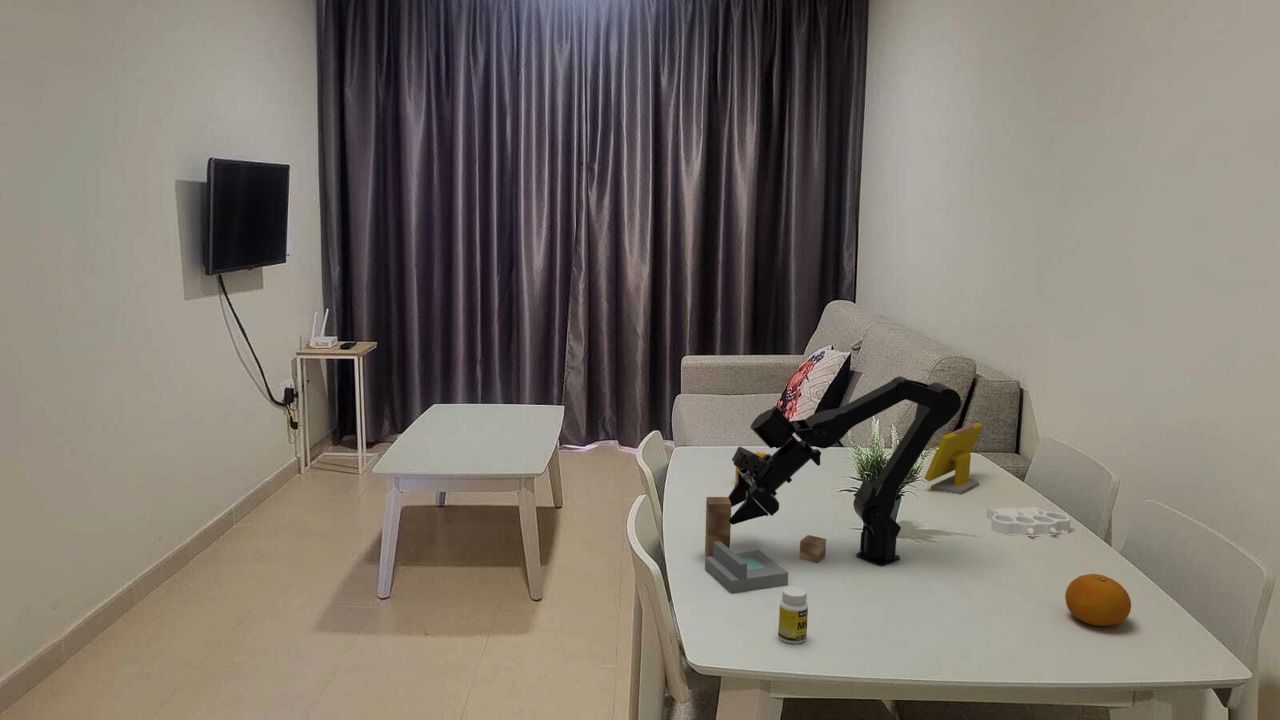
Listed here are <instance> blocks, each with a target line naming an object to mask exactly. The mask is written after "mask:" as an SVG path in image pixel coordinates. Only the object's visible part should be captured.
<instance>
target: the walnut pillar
mask: <svg viewBox="0 0 1280 720" xmlns="http://www.w3.org/2000/svg"><path fill="white" fill-rule="evenodd" d="M705 506H706V508H705V537H704V538H705V539H704V541H705V542H704V543H705V544H704V545H705V546H704V556H706V557H710V556H713V542H716V541H721V542H722V543H723V544H724V545H725V546H727V547H728V548H729V549H730V550H731V528H732V524H731V523H730V522H729V520H730V518H731V517H732V507H731V502H730V500H729V496H706V505H705Z"/></svg>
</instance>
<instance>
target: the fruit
mask: <svg viewBox="0 0 1280 720" xmlns="http://www.w3.org/2000/svg"><path fill="white" fill-rule="evenodd" d="M1064 594H1065V597H1064V598H1065V603H1066V607H1067V609H1068V610H1069V612H1071V614H1072V615H1073V616H1074V617H1076V618H1077V619H1078V620H1080V621H1081V622H1083V623H1086V624H1088V625H1093V626H1097V627H1109V626H1114V625H1117V624H1121V623H1122V622H1124V621H1125V620H1126V619H1127V618H1128V617H1129V615H1130V613H1131V609H1132V600H1131V598H1130V595H1129V594H1128V592H1127V590H1126V589H1125V588H1124V587H1123V585H1122V584H1120V583H1119V582H1118V581H1116V580H1115V579H1113V578H1111V577H1108V576H1107V575H1103V574H1100V573H1099V574H1097V573H1089V574H1088V573H1087V574H1083V575H1080V576H1078V577H1076V578H1075V579H1073V580H1072V581H1071V582H1070V583H1069V584H1068V586H1067V587H1066V590H1065V593H1064Z"/></svg>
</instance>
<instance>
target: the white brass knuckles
mask: <svg viewBox="0 0 1280 720" xmlns="http://www.w3.org/2000/svg"><path fill="white" fill-rule="evenodd" d="M986 517H987V519H988V518H990V519H991V520H992V521H991V520H990V521H991V524H990V525H991V526H990V530H991V529H992V530H993V531H995V532H997V533H1001V534H1006V535H1009V534H1022V535H1038V534H1056V533H1057V531H1062V530H1064V531H1067V530H1069V531H1070V528H1071V517H1070V516H1068V515H1067V514H1064V513H1061V512H1057V511H1056V512H1055V511H1048V510H1043V509H1042V508H1040V507H1037V506H1030V507H1007V508H1005V507H1004V508H993V507H990V508H989V509H987V510H986ZM992 530H991V531H992ZM993 531H992V532H993ZM995 532H994V533H995ZM997 533H996V534H997ZM1056 535H1057V534H1056Z"/></svg>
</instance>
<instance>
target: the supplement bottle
mask: <svg viewBox="0 0 1280 720" xmlns="http://www.w3.org/2000/svg"><path fill="white" fill-rule="evenodd" d="M807 594H808V592H807V591H806V590H805V589H804V588H802V587H799V586H787V587H784V588H783V589H782V595H781V598H782V599H781V600H780V602H779V615H778V616H779V617H778V633H777V634H778V635H777V636H778V638H779V640H781V641H782V642H784V643H787V644H794V645H797V644H799V645H800V644H802V643H804V642H805V641H806V640H807V636H808V635H807V634H808V633H807V632H808V615H809V605H808V602H807V598H808V597H807V596H808V595H807Z"/></svg>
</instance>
